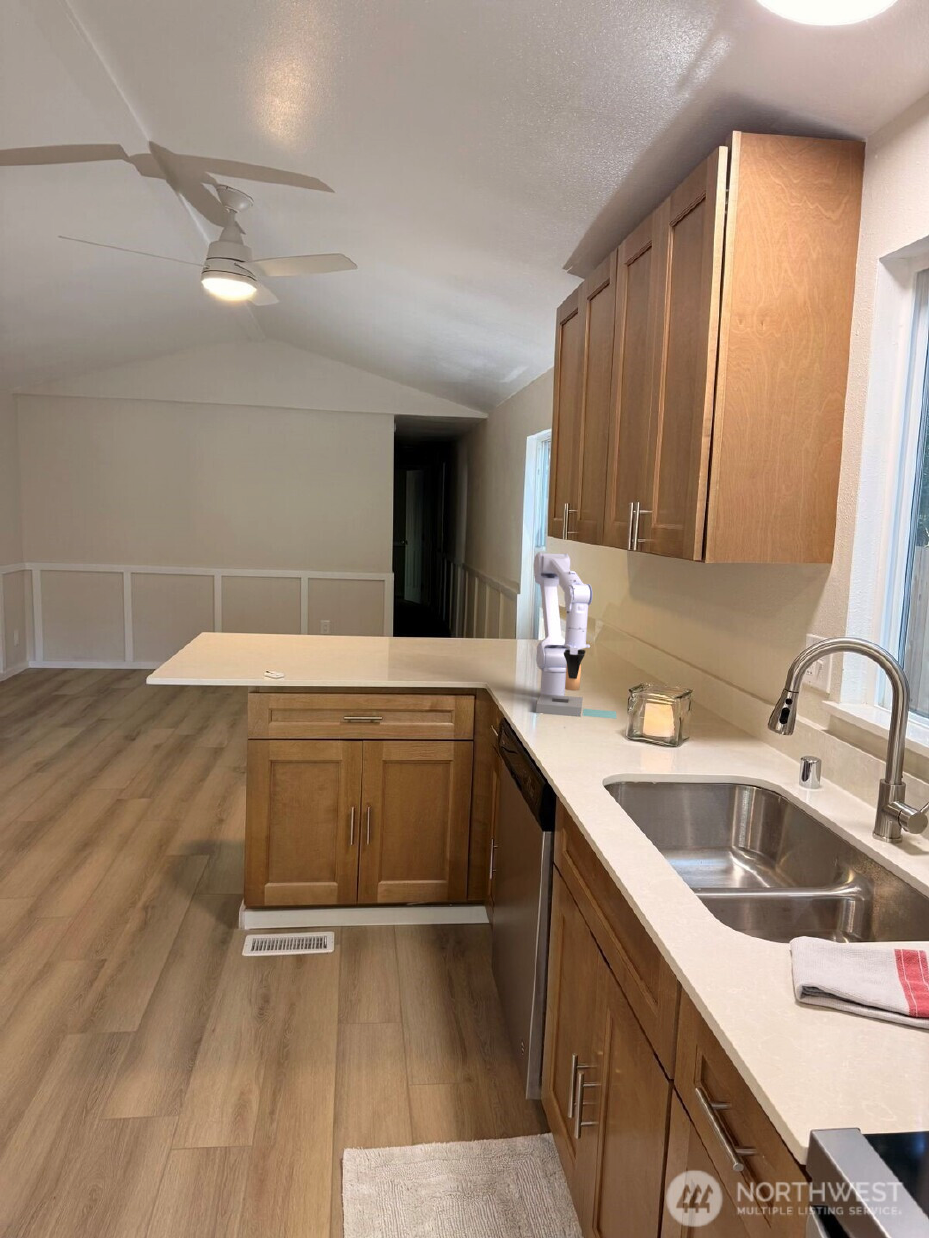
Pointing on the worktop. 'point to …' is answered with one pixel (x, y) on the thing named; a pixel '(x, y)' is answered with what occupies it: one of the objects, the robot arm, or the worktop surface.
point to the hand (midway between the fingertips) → (573, 676)
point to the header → (559, 705)
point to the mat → (599, 713)
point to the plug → (572, 681)
